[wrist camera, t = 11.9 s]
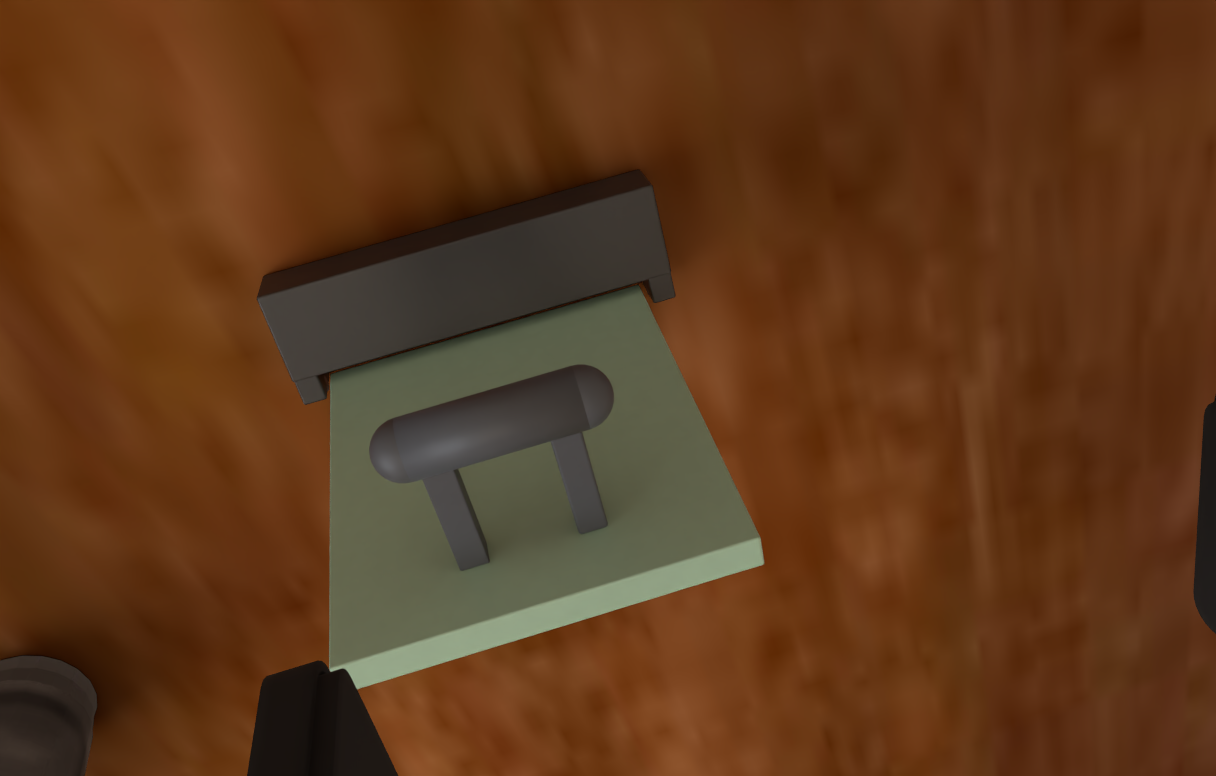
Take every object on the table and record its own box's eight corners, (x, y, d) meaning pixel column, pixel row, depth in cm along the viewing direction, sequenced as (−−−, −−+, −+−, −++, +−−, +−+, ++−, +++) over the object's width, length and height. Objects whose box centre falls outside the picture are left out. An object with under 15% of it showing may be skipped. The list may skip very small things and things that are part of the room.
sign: (341, 398, 36) (275, 253, 33) (644, 309, 37) (611, 158, 33) (344, 696, 26) (248, 531, 22) (765, 567, 27) (736, 386, 23)
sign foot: (262, 275, 35) (255, 298, 33) (639, 168, 36) (652, 184, 34) (309, 384, 37) (304, 411, 35) (665, 281, 38) (678, 302, 36)
